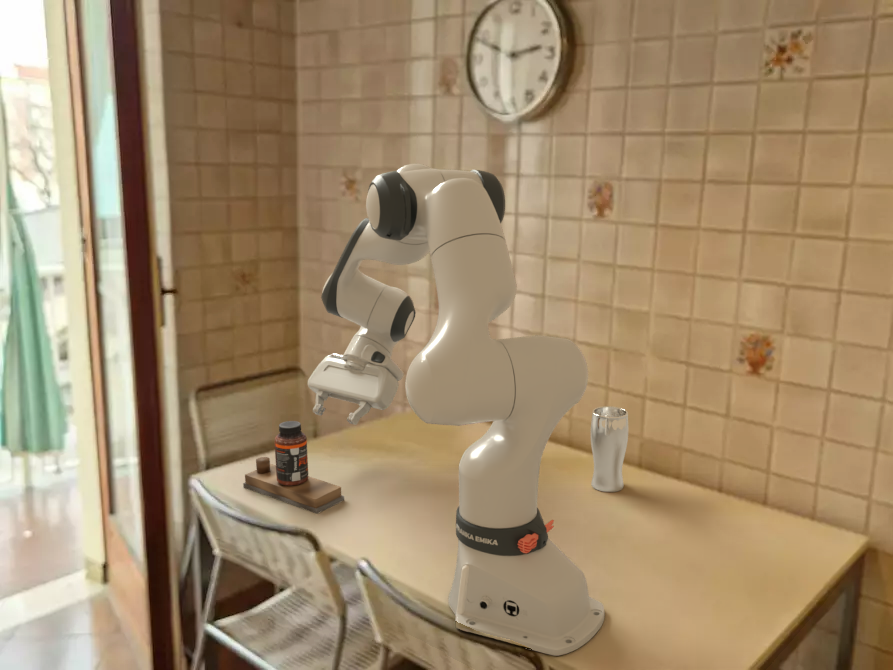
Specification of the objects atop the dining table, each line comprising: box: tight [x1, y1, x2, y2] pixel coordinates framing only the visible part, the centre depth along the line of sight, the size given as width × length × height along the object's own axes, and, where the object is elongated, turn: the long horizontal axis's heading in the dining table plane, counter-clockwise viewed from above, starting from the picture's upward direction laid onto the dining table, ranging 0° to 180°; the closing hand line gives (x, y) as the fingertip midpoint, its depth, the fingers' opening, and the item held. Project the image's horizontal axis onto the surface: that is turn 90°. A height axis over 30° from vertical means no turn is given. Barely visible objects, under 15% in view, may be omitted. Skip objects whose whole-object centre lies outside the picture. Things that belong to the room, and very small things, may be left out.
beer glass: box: [590, 405, 629, 493], centre depth 158 cm, size 7×7×15 cm
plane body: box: [242, 456, 345, 514], centre depth 157 cm, size 20×7×5 cm, turn 53°
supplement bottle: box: [274, 420, 309, 486], centre depth 156 cm, size 6×6×11 cm
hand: (333, 418), depth 164 cm, fingers open, 8 cm apart
